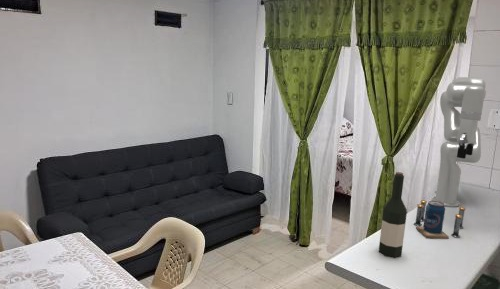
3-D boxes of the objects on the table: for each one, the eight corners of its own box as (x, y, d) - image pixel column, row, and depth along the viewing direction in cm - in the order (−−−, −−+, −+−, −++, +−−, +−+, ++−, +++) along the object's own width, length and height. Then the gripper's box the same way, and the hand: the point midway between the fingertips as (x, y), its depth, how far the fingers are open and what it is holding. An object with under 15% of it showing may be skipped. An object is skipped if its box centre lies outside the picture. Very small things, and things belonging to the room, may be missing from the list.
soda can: (421, 231, 155) (425, 203, 152) (424, 226, 160) (428, 199, 158) (440, 236, 151) (444, 207, 148) (442, 230, 156) (447, 202, 154)
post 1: (412, 223, 166) (415, 203, 164) (419, 223, 166) (422, 203, 164) (415, 226, 162) (418, 206, 161) (423, 226, 163) (425, 206, 161)
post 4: (453, 225, 165) (456, 206, 163) (460, 225, 165) (463, 206, 163) (457, 228, 161) (460, 208, 160) (464, 229, 161) (468, 209, 160)
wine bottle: (373, 252, 138) (382, 172, 132) (383, 244, 144) (392, 168, 138) (396, 260, 132) (406, 177, 126) (405, 252, 138) (416, 173, 132)
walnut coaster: (416, 228, 160) (416, 226, 160) (437, 229, 160) (437, 226, 160) (426, 238, 151) (426, 235, 151) (448, 238, 151) (448, 236, 151)
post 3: (449, 234, 156) (452, 213, 154) (457, 234, 156) (460, 213, 154) (453, 237, 152) (456, 216, 151) (461, 238, 152) (464, 217, 151)
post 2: (416, 218, 171) (418, 199, 169) (423, 219, 171) (425, 200, 169) (419, 221, 168) (421, 202, 166) (426, 221, 168) (429, 202, 166)
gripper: (466, 113, 167) (460, 151, 170) (454, 116, 154) (448, 157, 158) (486, 115, 162) (479, 155, 165) (475, 118, 149) (468, 161, 153)
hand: (464, 156), depth 162 cm, fingers open, 9 cm apart
